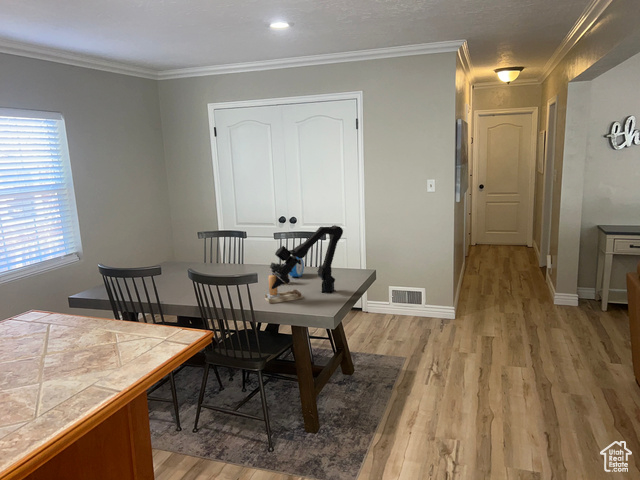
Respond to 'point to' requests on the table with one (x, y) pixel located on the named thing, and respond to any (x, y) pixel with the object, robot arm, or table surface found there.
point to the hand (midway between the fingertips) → (270, 287)
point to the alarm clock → (297, 268)
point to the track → (285, 296)
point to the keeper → (274, 291)
